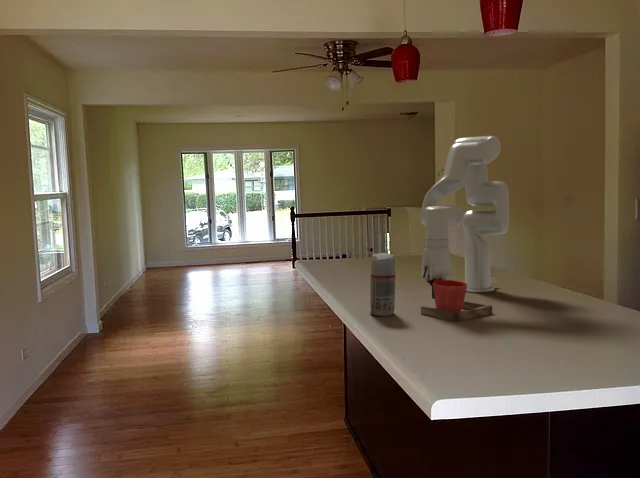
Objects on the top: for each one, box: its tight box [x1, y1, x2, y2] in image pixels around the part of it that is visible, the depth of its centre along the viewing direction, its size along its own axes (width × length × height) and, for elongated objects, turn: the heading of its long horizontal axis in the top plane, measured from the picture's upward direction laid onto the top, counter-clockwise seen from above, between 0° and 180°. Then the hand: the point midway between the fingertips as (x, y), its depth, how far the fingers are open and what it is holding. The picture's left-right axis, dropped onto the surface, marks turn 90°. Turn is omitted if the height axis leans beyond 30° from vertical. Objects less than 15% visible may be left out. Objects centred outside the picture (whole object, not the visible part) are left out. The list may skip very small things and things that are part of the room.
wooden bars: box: [420, 300, 493, 323], centre depth 187 cm, size 17×15×2 cm
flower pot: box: [433, 279, 467, 313], centre depth 187 cm, size 11×11×10 cm
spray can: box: [369, 252, 396, 317], centre depth 188 cm, size 8×8×20 cm
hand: (437, 298), depth 193 cm, fingers closed
